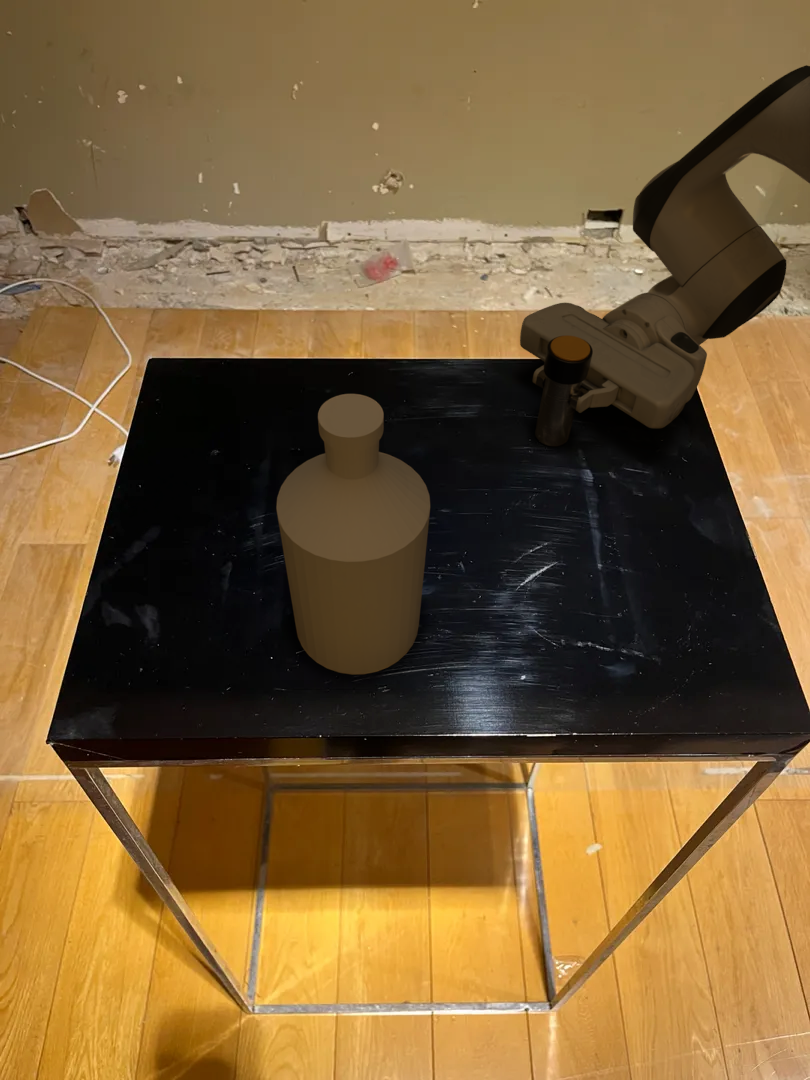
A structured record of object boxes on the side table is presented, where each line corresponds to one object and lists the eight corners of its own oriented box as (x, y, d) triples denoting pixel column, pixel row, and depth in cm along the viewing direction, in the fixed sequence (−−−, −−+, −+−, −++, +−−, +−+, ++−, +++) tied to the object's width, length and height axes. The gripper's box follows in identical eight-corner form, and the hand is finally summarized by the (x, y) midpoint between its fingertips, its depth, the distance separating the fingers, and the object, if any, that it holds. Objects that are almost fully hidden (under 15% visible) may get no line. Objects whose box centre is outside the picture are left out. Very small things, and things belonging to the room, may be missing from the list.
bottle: (440, 656, 74) (462, 453, 55) (312, 693, 71) (288, 493, 52) (397, 558, 81) (403, 348, 62) (279, 588, 78) (247, 379, 59)
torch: (574, 425, 94) (595, 337, 85) (569, 452, 91) (590, 364, 82) (534, 418, 95) (550, 330, 86) (528, 444, 92) (544, 356, 83)
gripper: (571, 277, 96) (488, 323, 90) (720, 360, 87) (639, 417, 80) (562, 323, 101) (483, 369, 95) (702, 406, 91) (625, 464, 85)
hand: (556, 392), depth 87 cm, fingers closed on torch, 4 cm apart
